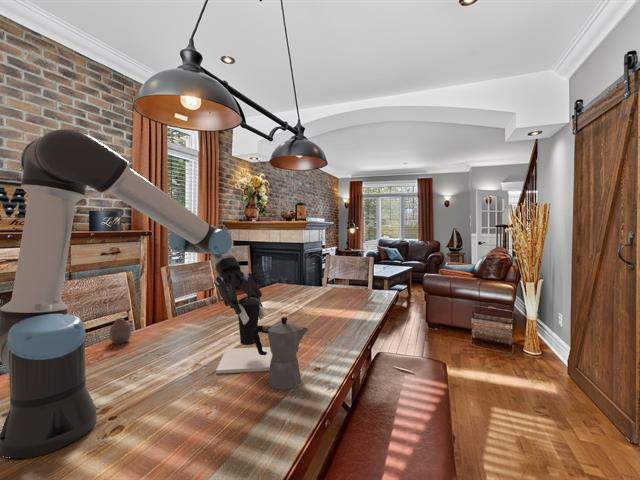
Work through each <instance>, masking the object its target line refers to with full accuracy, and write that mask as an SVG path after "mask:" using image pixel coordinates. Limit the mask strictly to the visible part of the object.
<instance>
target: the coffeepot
mask: <svg viewBox="0 0 640 480" xmlns="http://www.w3.org/2000/svg"><path fill="white" fill-rule="evenodd" d="M280 318H281V319H280V320H281V323H274V324H272V325H258V326H257V327H256V328H255V329H254V330H253V332H252V336H253V338H254V341H255V344H254V345H255V348H257V350H258V352H259V354H260V355H266V354H267V352H264V351H263V350H262V347H263V344H262V343H261V337H260V335H259V333H262V334H267V335H268V336H267V337H268V341H269V347H270V350H271V353H272V359H271V363H270V369H269V371H268V377H267V383H268V385H269V387H271V389H275V390H279V391H285V390H292V389H294V388H297V386H299V384H301V383H300V382H302V377H301V372H300V365H299V360H298V357H297V353H298V352H299V347H300V342H301V340H302V339H303V337H304V336H305V335H306V333H307V332H309V329H308V327H305V326H300V325H299V324H297V323H291V322H287V320H288V317H286V316H283V317H280Z"/></svg>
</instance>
